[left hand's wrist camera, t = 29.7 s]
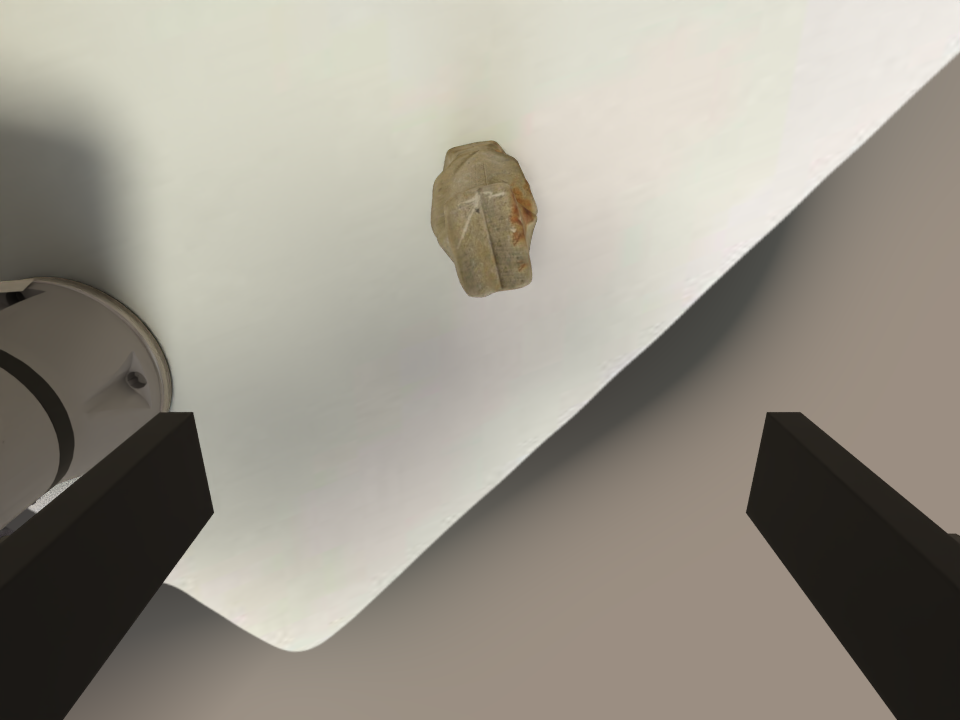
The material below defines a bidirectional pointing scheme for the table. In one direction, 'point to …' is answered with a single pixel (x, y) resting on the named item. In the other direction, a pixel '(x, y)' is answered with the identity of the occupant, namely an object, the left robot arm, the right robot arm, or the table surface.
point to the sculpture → (484, 218)
